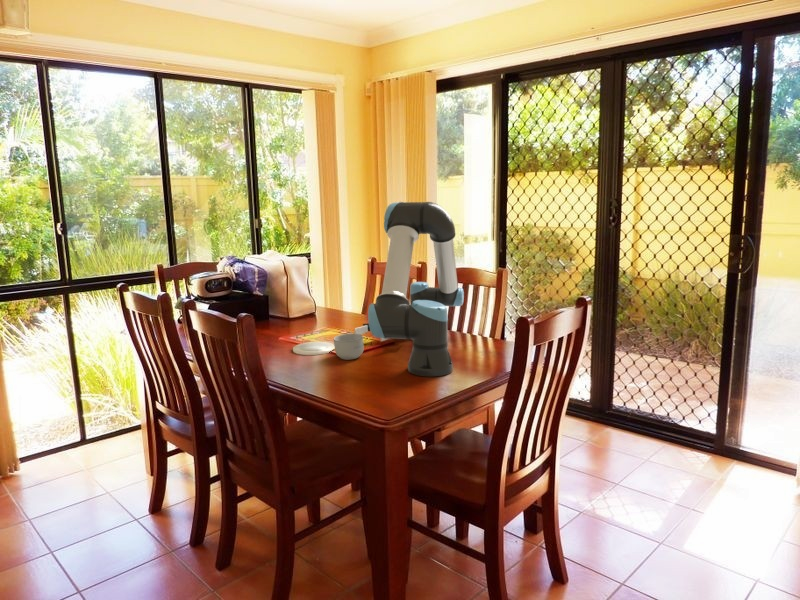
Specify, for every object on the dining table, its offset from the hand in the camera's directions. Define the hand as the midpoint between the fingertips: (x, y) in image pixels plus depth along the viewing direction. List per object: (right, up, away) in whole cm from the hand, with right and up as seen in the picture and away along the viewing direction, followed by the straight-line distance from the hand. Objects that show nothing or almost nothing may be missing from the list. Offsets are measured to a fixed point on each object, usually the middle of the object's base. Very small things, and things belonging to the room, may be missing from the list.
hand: (368, 334), depth 225 cm
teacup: (-6, -8, -6) cm, 12 cm away
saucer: (-21, -6, +4) cm, 22 cm away
